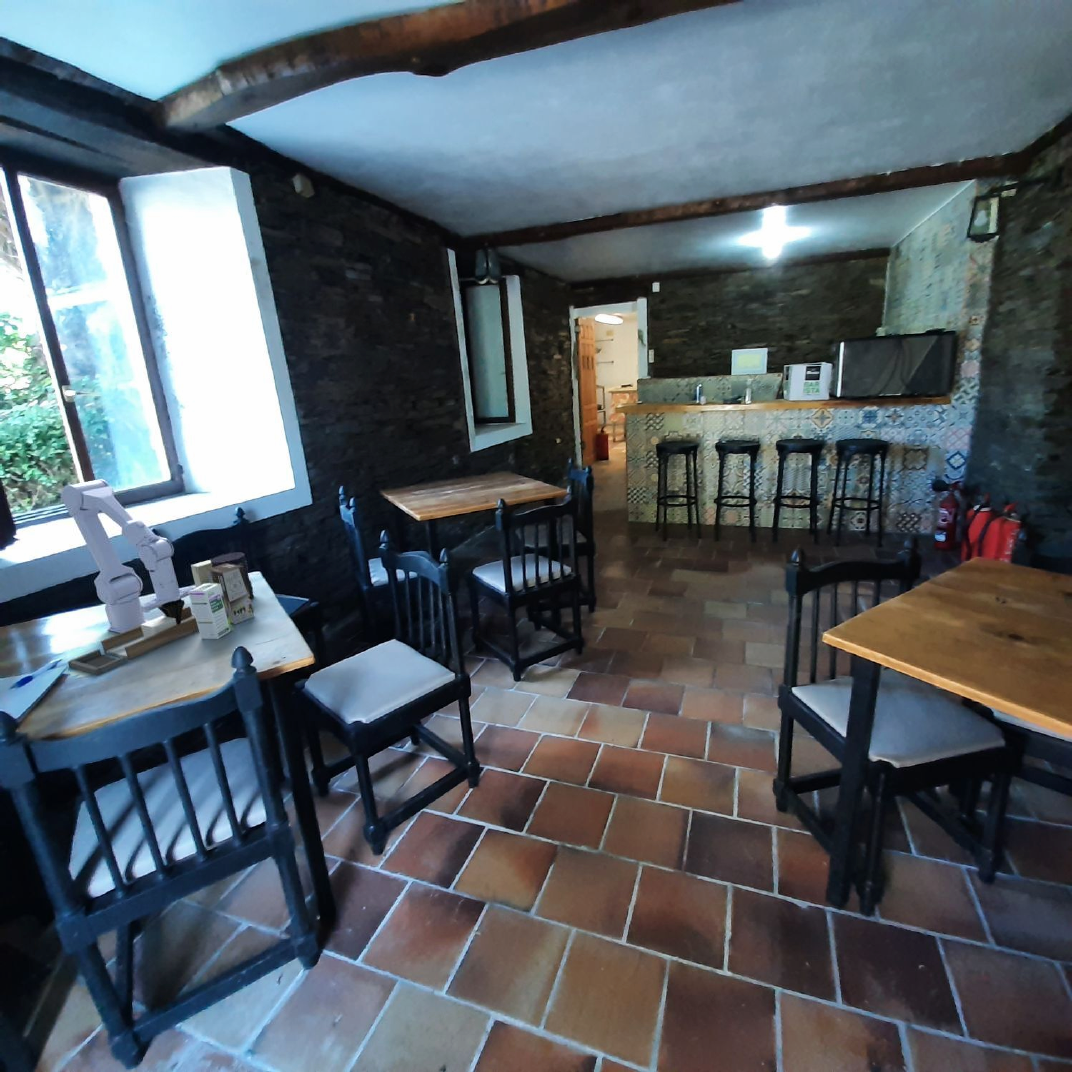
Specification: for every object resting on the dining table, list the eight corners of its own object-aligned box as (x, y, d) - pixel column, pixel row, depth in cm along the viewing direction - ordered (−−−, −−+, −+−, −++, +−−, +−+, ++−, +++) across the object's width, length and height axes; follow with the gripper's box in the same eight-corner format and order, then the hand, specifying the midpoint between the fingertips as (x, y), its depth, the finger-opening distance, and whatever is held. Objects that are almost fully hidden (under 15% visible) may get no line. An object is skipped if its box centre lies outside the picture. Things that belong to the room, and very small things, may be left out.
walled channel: (104, 652, 148) (100, 641, 147) (190, 616, 169) (187, 606, 168) (130, 659, 143) (126, 647, 142) (216, 621, 164) (213, 610, 163)
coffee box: (255, 616, 166) (243, 565, 161) (234, 624, 160) (222, 573, 156) (238, 611, 170) (227, 562, 166) (218, 619, 165) (205, 569, 161)
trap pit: (69, 666, 142) (67, 661, 141) (99, 654, 148) (97, 649, 147) (97, 675, 136) (95, 670, 136) (127, 661, 142) (125, 656, 142)
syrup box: (218, 639, 151) (205, 590, 147) (200, 638, 153) (187, 590, 149) (233, 630, 157) (221, 582, 153) (215, 629, 158) (203, 582, 154)
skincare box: (205, 602, 180) (196, 567, 177) (198, 600, 183) (189, 565, 179) (224, 595, 185) (216, 560, 182) (217, 593, 188) (209, 559, 184)
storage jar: (231, 608, 173) (220, 563, 169) (214, 603, 178) (203, 560, 174) (260, 597, 181) (251, 554, 177) (244, 592, 186) (234, 550, 182)
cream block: (144, 637, 154) (140, 624, 153) (165, 628, 159) (162, 615, 158) (157, 640, 152) (153, 627, 151) (178, 631, 157) (175, 618, 156)
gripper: (146, 592, 148) (159, 638, 151) (198, 574, 160) (209, 616, 164) (131, 590, 151) (144, 635, 154) (183, 572, 163) (194, 614, 167)
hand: (176, 625), depth 159 cm, fingers closed
